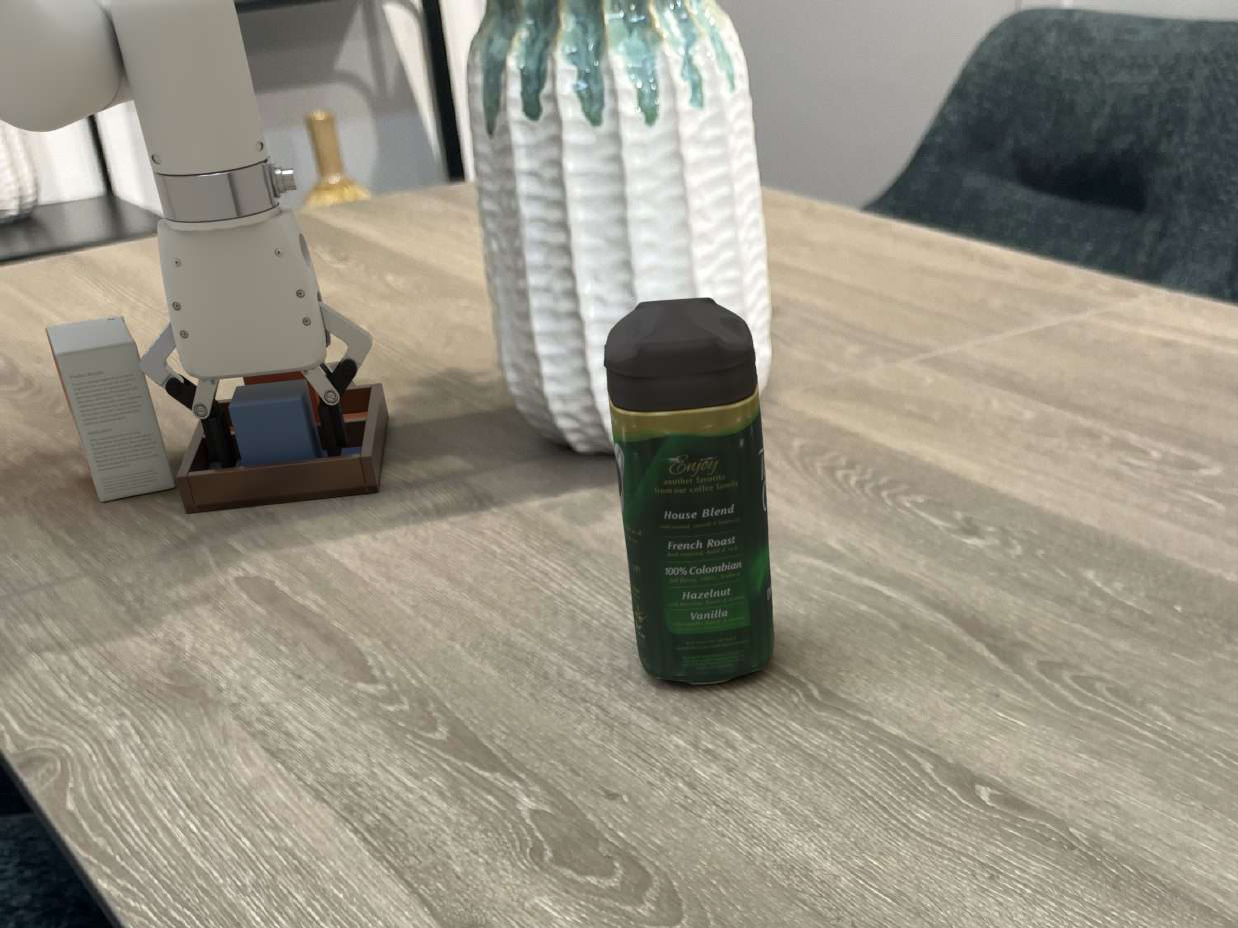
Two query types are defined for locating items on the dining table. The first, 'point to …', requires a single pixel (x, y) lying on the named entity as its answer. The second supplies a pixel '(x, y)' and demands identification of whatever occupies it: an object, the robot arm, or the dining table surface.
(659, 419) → the coffee jar
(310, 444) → the blue block
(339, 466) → the sorting tray
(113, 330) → the small box
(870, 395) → the dining table surface
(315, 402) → the terracotta block
